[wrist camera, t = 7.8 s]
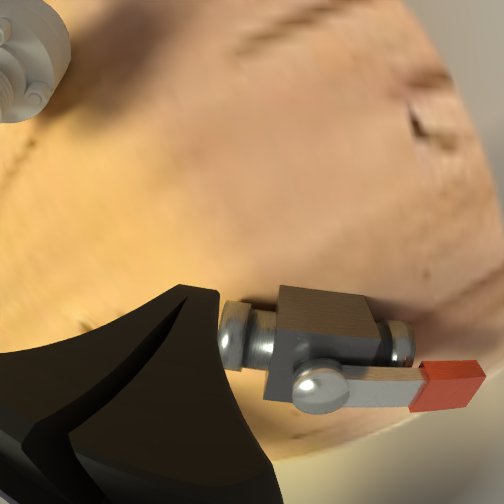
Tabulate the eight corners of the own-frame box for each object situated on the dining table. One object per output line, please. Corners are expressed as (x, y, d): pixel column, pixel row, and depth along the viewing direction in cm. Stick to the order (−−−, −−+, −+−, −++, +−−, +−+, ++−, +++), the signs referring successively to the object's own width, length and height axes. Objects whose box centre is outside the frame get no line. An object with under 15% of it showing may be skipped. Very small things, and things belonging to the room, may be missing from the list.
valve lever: (288, 389, 17) (287, 412, 16) (298, 352, 16) (299, 375, 14) (456, 391, 17) (465, 408, 15) (476, 358, 15) (487, 376, 14)
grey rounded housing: (140, 3, 21) (110, -106, 7) (62, 136, 15) (-51, -47, 1) (61, 29, 22) (21, -61, 7) (-25, 165, 15) (-124, 54, 1)
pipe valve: (378, 361, 22) (392, 406, 18) (225, 345, 23) (213, 391, 18) (404, 300, 20) (428, 341, 15) (231, 278, 21) (216, 319, 16)
